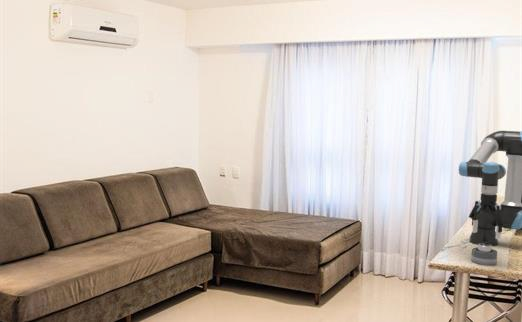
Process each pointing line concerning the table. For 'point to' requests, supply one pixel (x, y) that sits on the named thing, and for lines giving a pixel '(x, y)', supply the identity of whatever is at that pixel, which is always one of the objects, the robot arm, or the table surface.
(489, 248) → the cap
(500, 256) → the table surface
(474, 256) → the grey short cylinder
